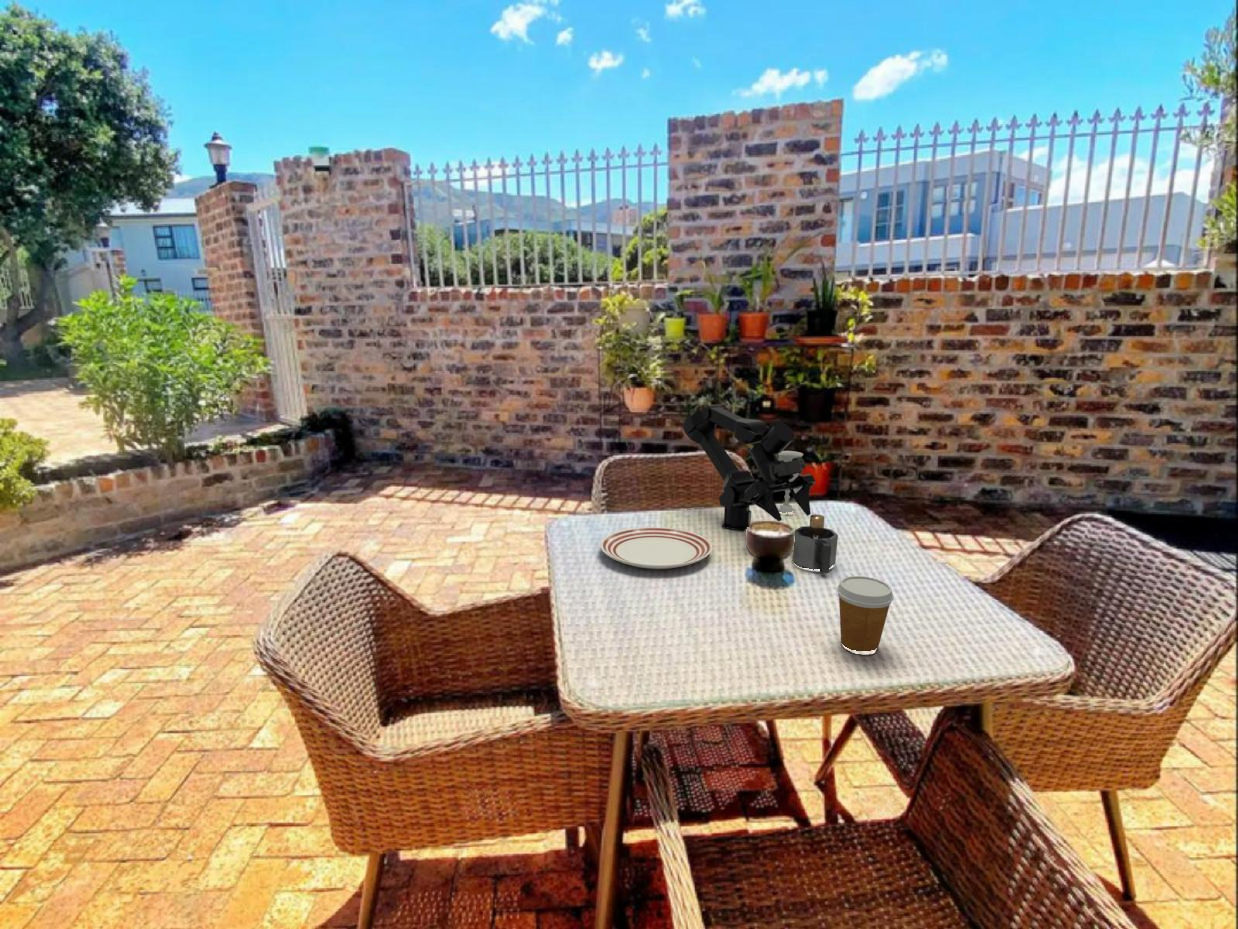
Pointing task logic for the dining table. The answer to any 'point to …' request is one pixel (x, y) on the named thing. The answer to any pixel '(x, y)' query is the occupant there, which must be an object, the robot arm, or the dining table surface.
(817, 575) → the dining table surface
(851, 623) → the disposable coffee cup
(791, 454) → the chalice
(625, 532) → the dinner plate
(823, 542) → the press carafe
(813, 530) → the plunger
